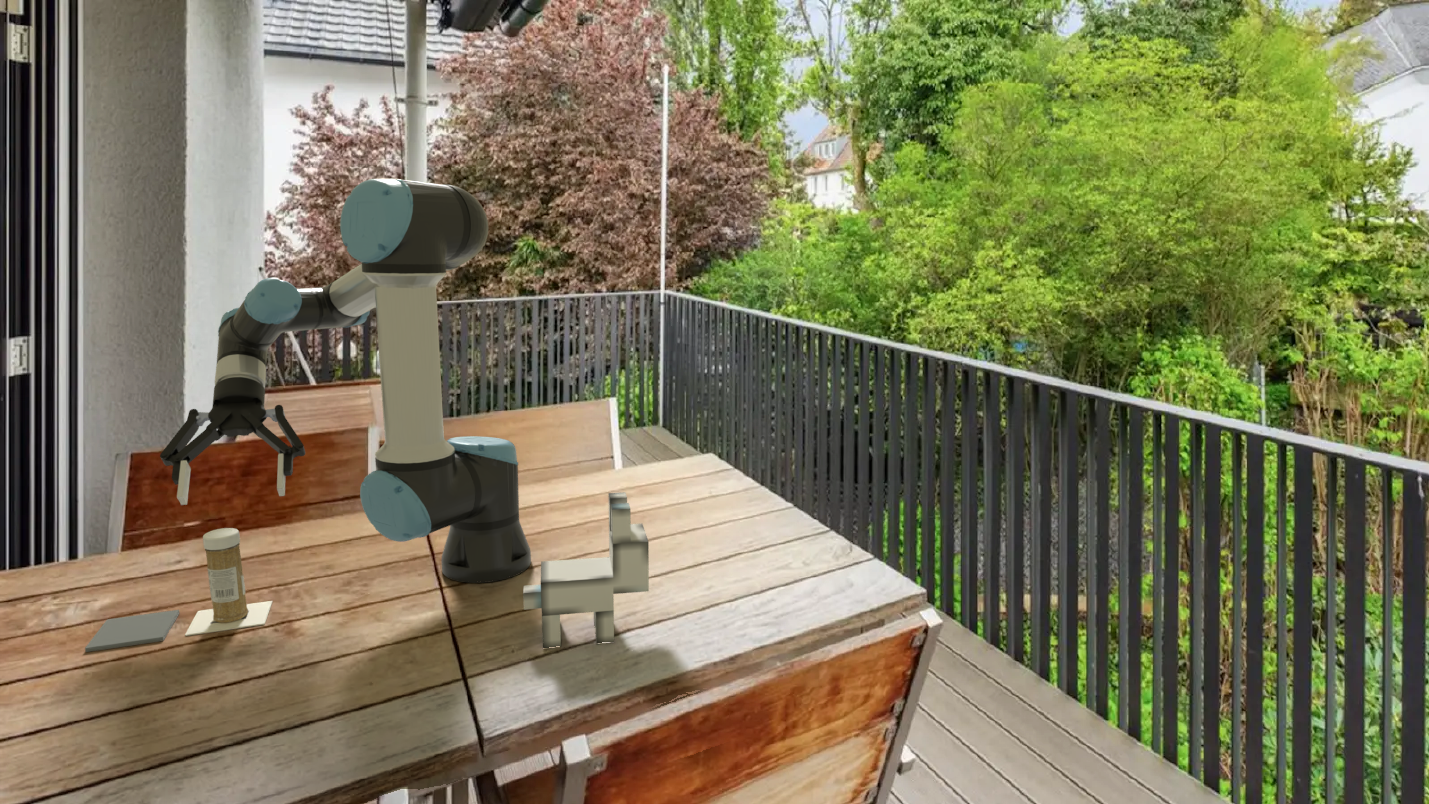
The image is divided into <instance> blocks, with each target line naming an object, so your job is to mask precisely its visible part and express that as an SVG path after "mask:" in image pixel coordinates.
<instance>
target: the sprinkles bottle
mask: <svg viewBox="0 0 1429 804" xmlns="http://www.w3.org/2000/svg"><path fill="white" fill-rule="evenodd" d="M202 541H203V542H202V543H203V549H204V551H205V556H206V562H207V563H206V564H207V569H206V570H207V576H208V583H209V584H208V585H209V591H210V592H209V593H210V599H211V604H212V609H213V612H214V615H213V620H214V621H216V622H220V623H227V622H232V621H236V620H239V619H241V618H243V617H244V616H246V615H247V613H248V609H247V604H248V603H247V599H246V586H245V585H246V584H245V577H244V574H243V566H242V565H243V564H242V556H241V549H240V543H241V536H240V531H239V530H238V529H237V528H233V527H224V528H223V527H222V528H217V529H213V530H210V531H208V532H206V533H204V534H203V536H202Z"/></svg>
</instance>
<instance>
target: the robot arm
mask: <svg viewBox="0 0 1429 804" xmlns="http://www.w3.org/2000/svg"><path fill="white" fill-rule="evenodd" d="M487 217H488V216H487V213H486V211H485V210H484V207H483V206H482V204H481V203H480V202H479V200H478V199H477V198H476V197H475V196H474V195H472V193H470V192H468V191H466V190H465V189H464V188H461V187H459V186H456V185H451V184H444V183H442V184H438V183H429V182H422V181H414V180H406V179H399V178H392V177H391V178H371V179H366V180H364V181H362V182H360V183H359V184H357V185H356V186H355V187H354V188H353V189H352V190H351V192H350V194H349V195H348V196H347V197H346V199H345V202H344V204H343V207H342V209H341V215H340V223H339V225H340V226H339V228H340V236H341V237H340V238H341V240H342V243H343V246H345V247H346V251H347V253H348V254H349V255H350V256H351V258H353V259H355V260H357V261H359V262H360V264H359V265H358V266H356V267H354V268H353V269H351V270H350V271H347V272H346V273H345V274H344V275H342V276H341V277H339V278H337V279H336V280H334V281H333V282H331V283H329V284H328V285H325V286H322V287H307V288H297V287H295V286H294V285H293V283H290V282H289V281H287V280H282V279H280V278H278V277H267V278H263V279H261V280H260V281H258V282H257V284H255V286H254V287H253V288H252V289H251V290H250V291H248V293H247V295H246V296H245V298H244V300H243V302H242V303H241V304H240V306H239V307H236V308H233V309H232V310H227V311H225V312H224V313H223V315H222V317H221V319H220V325H219V327H218V331H217V332H218V333H217V334H218V340H217V341H218V343H217V355H216V356H217V357H216V366H215V374H214V375H215V376H214V388H213V399H212V407H211V409H210V410H209V412H207V411H205V412H204V411H199V410H198V409H196V408H192V409H190V410H189V411H188V416H187V419H186V420H185V422H184V423H183V425H182V426H181V427H180V428H179V430H178V431H177V432H176V434H175V435H174V436H173V437H172V438H171V440H170V441H169V443H168V444H167V445H166V446H165V448H164V449H163V450H162V451H161V453H160V455H159V457H160V460H161V461H162V462H163V465H165V466H166V467H170V466H172V471H171V480H172V482H173V484H174V485H177V492H176V498H177V500H178V501H179V503H180V506H184V505H185V506H186V505H188V501H189V500H188V499H189V490H190V489H189V488H190V481H191V480H190V479H191V471H192V468H191V466H190V463H191V462H192V461H193V460H195V459H196V458H197V457H199V456H200V454H201V453H203V451H205V450H207V448H209V446H211V445H212V444H213V443H214V442H217V441H219V440H220V439H221V438H222V437H224V436H226V437H227V438H230V437H236V436H241V437H242V436H243V437H245V436H249V435H250V434H252V433H254V435H256V436H257V437H258V438H259V439H260V438H261V440H263V441H264V442H265V443H266V444H268V446H270V447H271V448H272V449H273V450H274V451H276V452H277V453H278V455H277V472H276V473H277V477H276V478H277V479H276V490H277V493H278V496H279V497H285V496H286V477H289V476H292V475H293V471H294V459H295V458H296V457H297V458H298V457H304V456H306V449H305V446H304V443H303V442H302V440H301V439H300V437H299V436H298V434H297V433H296V431H295V430H294V428H293V427H292V426H291V424H290V423H289V420H288V419H287V418H286V414H285V410H284V407H283V405H282V404H277V405H275V406H274V408H269V409H266V408H265V401H266V400H265V399H266V398H265V396H266V390H265V389H266V378H267V377H266V375H267V358H268V356H267V355H268V351H269V348H270V347H271V346H272V345H273V344H274V343H275V341H276V340H277V339H278V337H280V335H281V334H283V333H287V332H301V331H313V330H323V329H325V330H326V329H334V328H335V329H337V328H344V329H346V328H350V327H354V326H358V325H359V326H360V325H362V324H364V323H365V322H366V321H367V319H368V316H370V311H371V310H373V309H375V314H376V326H377V327H376V329H377V342H378V343H377V345H378V355H379V356H378V357H379V372H380V373H379V374H380V375H379V376H380V389H381V403H382V416H383V417H382V419H383V420H382V421H383V432H384V443H383V444H382V446H381V447H380V448H378V450H377V451H376V452H375V453H374V457H375V458H374V459H375V461H374V462H375V470H372V471H371V472H369V473H368V474H367V475H366V476H365V477H364V478H363V481H362V482H361V484H360V489H359V490H360V492H359V494H360V495H359V497H360V498H359V499H360V503H361V506H362V509H363V511H364V514H365V516H366V518H367V519H368V521H369V523H370V524H371V526H373V527H374V529H375V530H376V531H377V532H378V533H379V534H381V535H382V536H383V537H385V538H386V539H387V540H390V541H394V542H397V543H398V542H408V541H411V540H414V539H418V538H419V539H420V538H424V537H427V536H428V535H429V534H432V533H434V532H437V531H439V530H442V529H444V528H447V527H449V529H448V530H449V531H448V533H447V537H446V540H445V545H444V548H443V551H442V553H441V554H442V555H441V560H440V561H441V571H442V574H443V575H444V577H447V578H448V579H450V580H453V581H456V582H461V583H468V584H469V583H471V584H474V583H475V584H477V583H478V584H480V583H481V584H482V583H483V584H484V583H491V582H498V581H503V580H506V579H509V578H513V577H515V576H517V575H519V574H521V573H524V572H525V571H526V570H527V569H529V567H530V565H531V563H532V559H531V558H532V557H531V556H532V555H531V548H530V545H529V543H528V540H527V537H526V534H525V532H524V529H523V527H522V524H521V522H520V507H519V506H520V504H519V503H520V502H519V501H520V500H519V497H520V496H519V467H518V466H519V462H518V456H517V449H516V446H515V445H514V443H513V442H512V441H510V440H508V439H504V438H498V437H491V436H479V435H478V436H475V435H474V436H473V435H472V436H470V435H469V436H456V437H451V438H448V439H447V440H446V439H445V433H444V417H443V415H444V413H443V396H442V394H443V392H442V377H441V375H442V374H441V372H442V371H441V356H440V338H439V337H440V336H439V335H440V334H439V320H438V319H439V316H438V300H437V299H438V298H437V297H438V296H437V286H438V283H439V282H440V281H442V280H443V278H444V277H445V276H446V275H447V271H452V270H454V269H457V268H458V267H460V266H461V265H463V264H465V263H466V262H469V261H470V260H471V259H473V258H475V257H476V255H478V254H479V253H480V252H481V251H482V249H484V246H485V245H486V242H487V240H488V239H487V238H488V236H489V235H488V234H489V220H488V218H487ZM268 418H269V419H271V421H273V422H274V423H277V424H278V427H279V429H280V430H281V431H282V433H283V435H284V436H285V438H286V439H287V441H288V442H289V443H290V445H288V444H286V443H285V442H284V441H283V440H282V439H280V438H279V437H278V436H277V435H276V434H275V433H274V432H273V431H271V430H270V429H269V428H267V426H265V425H264V422H265V421H266V419H268ZM208 421H209V422H210V423H209V424H207V426H206V427H205V429H204V430H203V431H202V432H201V433H200V434H198V436H196V437H195V438H194V436H195V435H196V433H197V432H198V430H199V428H200V427H203V426H204V424H205V423H206V422H208ZM193 438H194V439H193ZM192 439H193V440H192ZM191 440H192V441H191Z"/></svg>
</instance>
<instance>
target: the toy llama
mask: <svg viewBox="0 0 1429 804" xmlns="http://www.w3.org/2000/svg"><path fill="white" fill-rule="evenodd" d="M631 519H632V518H631V506H630V503H629V502H628V496H627V492H608V550H609V552H608V553H609V555H608V556H604V557H590V558H589V557H588V558H587V557H586V558H574V559H572V558H571V559H562V560H561V559H560V560H559V559H557V560H545V561H540V563H541V564H540V584H532V585H531V584H529V585H523V589H522V590H523V591H522V592H523V593H522V595H523V597H522V598H523V610H535V609H541V610H540V611H541V631H542V633H541V636H542V637H541V641H542V642H541V643H542V649H543V648H549V647H556V646H561V645H562V644H561V643H562V641H561V638H562V637H561V636H562V635H561V615H573V614H584V613H585V614H586V613H593V626H595V627H594V630H595V634H596V635H595V642H596V643H602V642H614V643H615V630H614V629H615V622H614V621H615V616H614V615H615V610H614V609H615V608H614V601H615V600H614V595H617V594H618V595H619V594H630V593H632V594H633V593H643V592H645V593H646V592H650V590H649V589H650V587H649V585H650V583H649V581H650V579H649V574H650V573H649V570H650V568H649V564H650V563H649V562H650V561H649V553H650V552H649V551H650V549H649V546H650V545H649V539H648V535H647V533H646V529H645V527H644V524H643V523H631ZM596 643H595V644H596ZM561 647H562V646H561Z"/></svg>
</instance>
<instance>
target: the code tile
mask: <svg viewBox="0 0 1429 804" xmlns="http://www.w3.org/2000/svg"><path fill="white" fill-rule="evenodd" d="M246 604H247V609H248V613H247V615H246V616H244V617H243V618H241V619H239V620H236V621H232V622H227V623H220V622H216V621H214V620H213V615H214V612H213V608H209V609H202V610H197V612H196V614H195V616H194V617H193V619H192V621H191V623H190V625H189V627H187V630H186V632H185V634H184V636H185V637H189V636H196V635H202V634H208V633H215V632H224V631H228V630H230V631H231V630H236V629H241V628H242V629H244V628H249V627H251V628H252V627H257V626H265V624H266V622H267V619H268V616H269V613H270V610H271V607H272V604H273V600H269V601H262V602H261V601H260V602H259V601H258V602H254V603H246Z"/></svg>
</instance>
